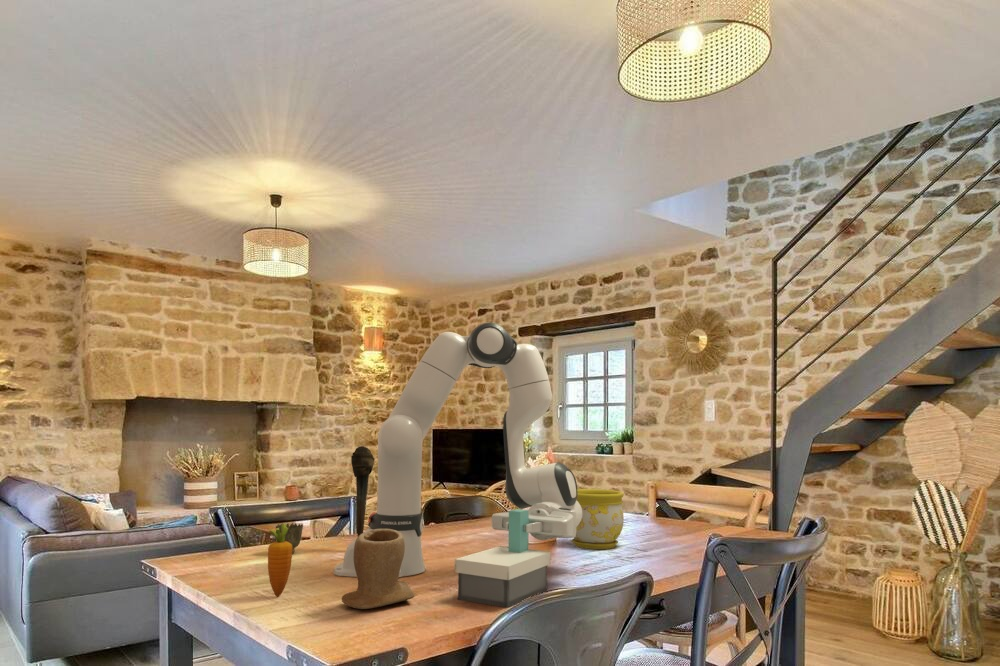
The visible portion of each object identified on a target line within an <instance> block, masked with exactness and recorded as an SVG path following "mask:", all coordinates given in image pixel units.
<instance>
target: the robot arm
mask: <svg viewBox="0 0 1000 666" xmlns="http://www.w3.org/2000/svg"><path fill="white" fill-rule="evenodd" d="M467 366H473V367H477V368H481V369H492V368H495V367H497V368H499V369H500V370H501V371H502V373H503V375H504V376H505V379H506V383H507V389H508V392H509V402H508V403H509V404H508V408H507V410H506V411H505V412H504V414H503V420H502V422H503V423H502V424H503V425H502V430H503V431H502V432H503V446H504V447H503V448H504V460H505V461H504V462H505V482H504V483H505V486H504V487H505V488H504V489H505V494H506V497H507V499H508V501H509V502H511V504H513V505H514V506H515V507H517V509H522V510H525V509H528V508H529V509H528V510H529V524H527V523H526V524H523V532H527V533H529V534H530V535H531V536H532V537H533V538H534V539H535V540H539V541H546V540H553V539H574V537H576V527H577V526H578V525H579V524H580V522H581V519H582V508H581V506H580V504H579V503H578V501H577V489H578V485H577V481H576V477H575V474H574V472H573V471H572V470H571V469H570V468H569V467H568V466H567V465H565V464H564V463H563V462H560V461H557V462H554V463H553V462H552V463H546V464H543V465H538V466H535V467H528V468H527V466H526V464H525V463H526V462H525V449H524V434H525V432H526V431H527V429H528V428H529V427H531V425H532V424H533V423H535V422H536V421H537V420H539V419H541V417H543V416H544V415H545V414H546V413H547V411H548V410H549V408H550V406H551V405H552V401H553V395H552V394H553V393H552V387H551V382H550V379H549V375H548V372H547V368H546V366H545V363H544V360H543V358H542V356H541V353H540V351H539V349H538V348H537V347H536V346H535V345H534V344H530V343H518V342H517V340H515V338H513V337H512V336H511V334H510V333H509V332H508V331H507V330H506V329H505V328H504V327H503V326H501V325H500V324H499V323H496V322H483V323H481V324H479V325H477V326H475V328H473V330H472V331H471V333H470V334H469V335H466V336H463V335H460V334H459V333H456V332H453V331H443V332H441V333H440V334H439V335H438V336H437V337H436V338H435V339H434V340H433V341H432V343H431V344H430V346H428V348H427V349H426V351H425V352H424V354H423V355H422V357H421V359H420V360H419V362H418V364H417V365H416V368H415V369H414V370H413V373H412V375H411V376H410V378H409V380H408V381H407V383H406V385H405V386H404V388H403V391H402V392H401V393H400V396H399V398H398V400H397V402H396V404H395V406H394V407H393V409H392V411H391V413H390V414H389V416H388V417H387V418H386V419H385V420H384V421H383V422H382V424H381V426H380V427H379V430H378V434H377V435H378V436H377V498H376V500H377V501H376V512H372V513H370V514H369V516H368V521H367V523H368V526H367V527H369V528H367V529H366V530H365V531H363V533H367V532H369V531H371V530H374V529H392V530H396V531H398V532H400V533H401V534H402V535H403V538H404V543H405V552H404V557H403V561H402V564H401V568H400V572H399V577H398V578H401V577H408V576H414V575H418V574H421V573H424V572H425V571H426V567H425V562H424V556H423V549H422V548H423V547H422V538H421V537H422V533H423V522H424V521H423V513H422V512H421V510H422V509H421V508H422V507H421V506H422V471H423V469H422V468H423V467H422V466H423V441H424V440H425V438H426V436H427V435H428V433H429V431H430V429H431V427H432V425H433V424H434V422H435V421H436V419H437V417H438V415H439V413H440V412H441V409H442V408H443V406H444V405H445V403H446V401H447V399H448V397H449V396H450V394H451V392H452V391H453V388H454V387H455V385H456V384H457V381H458V380H459V378H460V376H461V374H462V373H463V371H464V369H465V368H466V367H467ZM491 528H492V529H493V530H499V531H506V532H509V511H504V512H498V513H497V512H496V513H493V514H492V515H491ZM356 539H357V537H356V538H354V540H352V541H351V542H350V543H349V544H348V545H347V547H346V550H345V552H344V557H343V561H342V562H340V563H338V564H337V565H335V567H334V569H333V574H334V575H335V576H341V577H356V578H357V574H356V571H355V566H354V559H353V557H354V546H355V541H356Z"/></svg>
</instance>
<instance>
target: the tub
mask: <svg viewBox="0 0 1000 666" xmlns="http://www.w3.org/2000/svg"><path fill="white" fill-rule="evenodd" d="M547 573H548V565H547V566H544V567H541V568H539V569H536V570H534V571H531V572H528V573H526V574H523V575H521V576H518V577H515V578H513V579H510V580H504V579H497V578H490V577H483V576H477V575H470V574H463V573H458V581H457V583H458V588H457V591H458V592H457V600H460V601H465V602H472V603H477V604H483V605H488V606H495V607H499V608H500V607H501V608H505V609H508V608H510V607H512V606H515V605H517V604H519V603H521V602H523V601H525V600H527V599H526V598H528V597H530V596H532V597H534V596H535V594H536V595H538V593H539V594H541V593H543V592H545V591H547V590H548V574H547ZM533 595H534V596H533ZM530 598H531V597H530ZM524 599H525V600H524ZM528 599H529V598H528ZM522 600H523V601H522Z"/></svg>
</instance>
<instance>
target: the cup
mask: <svg viewBox="0 0 1000 666" xmlns="http://www.w3.org/2000/svg"><path fill="white" fill-rule="evenodd" d="M282 524H284V523H280V524H279V523H277V525H275V529H276V528H279V530H280V533H282V529H281V527H282ZM286 527H287V528H288V531H287V533H286V535H285V540H284V541H287V542H289V543H291V544H292V548H293V549H292V555H293V554H294V553H295V552H296V550H295V548H297V547H298V546H299V545H300V542H301V539H302V534H303V528H304V524H303V523H301V524H300V523H298V524H297V523H290V524H289V523H286ZM275 532H276V531H275ZM276 533H277V532H276Z"/></svg>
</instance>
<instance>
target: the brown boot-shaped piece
mask: <svg viewBox="0 0 1000 666" xmlns="http://www.w3.org/2000/svg"><path fill="white" fill-rule="evenodd" d="M356 538H357V539H356ZM356 538H355V539H356V541H355V546H354V557H353V559H354V566H355V571H356V574H357V577H356V579H357V589H356V590H353V591H350V592H346V593H344V594H343V595H342V596H341V598H340V600H341V602H342V603H344V605H346V606H347V607H350V608H354V609H358V610H367V609H368V610H369V609H374V608H380V607H384V606H388V605H392V604H397V603H400V602H404V601H408V600H412V599H414V597H415V593H414V591H413V589H412V588H411V586H409V583H408V581H406V580H399V578H400V577H399V572H400V568H401V564H402V561H403V557H404V552H405V543H404V538H403V535H402V534H401V533H400V532H398V531H396V530H392V529H374V530H371V531H369V532H367V533H364V532H363V533H362V534H360V535H359V536H358V535H357V537H356Z"/></svg>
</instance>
